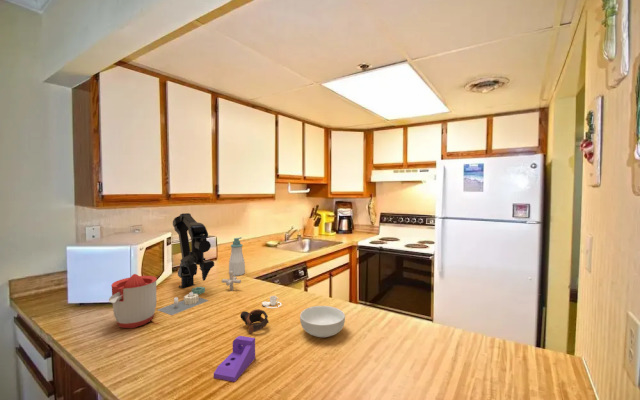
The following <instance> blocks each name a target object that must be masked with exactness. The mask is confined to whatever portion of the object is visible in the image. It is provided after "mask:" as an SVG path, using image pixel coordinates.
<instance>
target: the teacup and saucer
mask: <svg viewBox="0 0 640 400" xmlns="http://www.w3.org/2000/svg"><path fill="white" fill-rule="evenodd" d="M277 299H278V300H277ZM276 302H277V303H276ZM278 303H280V305H279V304H278ZM277 304H278V305H277ZM261 305H262V306H263V307H265V308H268V309H276V308H280V307H281V306H282V305H283V304H282V302H280V298H279V297H278V296H277V295H271V296H269V301H262V302H261ZM270 305H271V306H270ZM276 305H277V306H278V307H277V306H276Z"/></svg>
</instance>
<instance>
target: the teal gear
mask: <svg viewBox="0 0 640 400" xmlns="http://www.w3.org/2000/svg"><path fill="white" fill-rule="evenodd" d="M191 292H193V294H198V295H201V294H204V293H205V292H206V287H205V286H204V287H203V286H196V287H193V288H192V289H191Z"/></svg>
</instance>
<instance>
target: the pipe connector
mask: <svg viewBox="0 0 640 400" xmlns="http://www.w3.org/2000/svg"><path fill="white" fill-rule="evenodd" d="M237 277H238V276H233V271H231V272H230V274H229V278H222V280H221V283H224V284H225V285H226V286H227V287H228V286H229V291H230V292H233V291H234V284H241V283H242V280H241V279H237Z"/></svg>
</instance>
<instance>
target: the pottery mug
mask: <svg viewBox="0 0 640 400" xmlns="http://www.w3.org/2000/svg"><path fill="white" fill-rule="evenodd" d="M262 315H263V316H264V317H263V316H262ZM239 317H240V319H241V320H242V321H243V322H244V324H245V326H247V327H248V329H247V332H248V333H249V334H251V335H252V334H253V333H255V332H258V331H261V330H263V329H264V328H265V327H266V326H267V325H268V324H270V322H269V319H268V317H269V316H268V314H267V312H266V311H264V310H262V309H260V308H258V309H257V308H255V309H252V310H251V311H250V312H249V311H242V312H241V313H240V315H239Z"/></svg>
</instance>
